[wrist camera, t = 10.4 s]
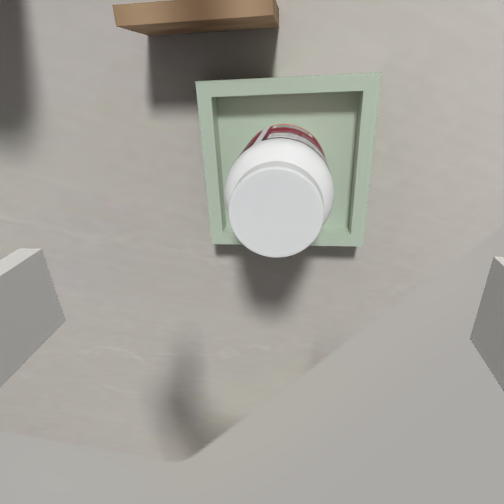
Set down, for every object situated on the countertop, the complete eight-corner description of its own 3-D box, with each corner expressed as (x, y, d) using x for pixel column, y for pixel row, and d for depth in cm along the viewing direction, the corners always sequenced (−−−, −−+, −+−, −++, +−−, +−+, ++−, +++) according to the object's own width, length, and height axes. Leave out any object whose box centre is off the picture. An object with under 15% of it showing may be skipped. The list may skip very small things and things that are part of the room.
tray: (217, 234, 31) (211, 244, 29) (203, 81, 25) (195, 81, 24) (359, 235, 29) (363, 246, 27) (375, 72, 24) (381, 72, 22)
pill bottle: (265, 216, 29) (246, 288, 19) (229, 146, 27) (187, 186, 17) (338, 184, 27) (359, 245, 17) (305, 106, 25) (307, 124, 15)
